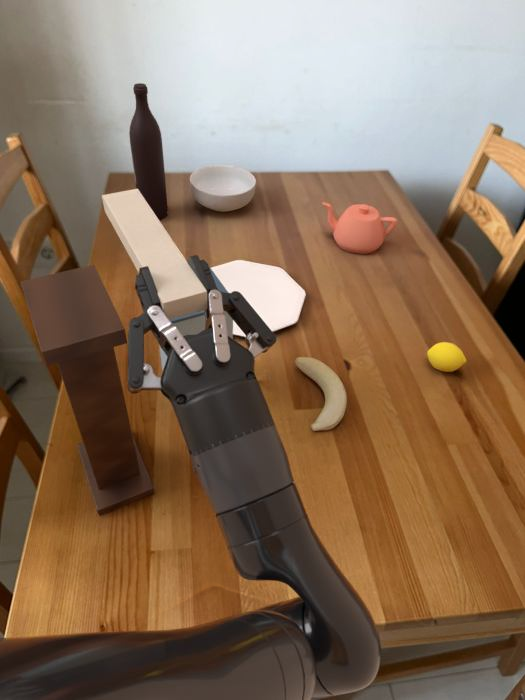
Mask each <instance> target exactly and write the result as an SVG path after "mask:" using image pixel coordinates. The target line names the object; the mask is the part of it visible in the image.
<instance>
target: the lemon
mask: <svg viewBox="0 0 525 700" xmlns="http://www.w3.org/2000/svg"><path fill="white" fill-rule="evenodd" d="M426 356H427V359H428V361H429V364H430V365H431V366H432V367H433V368H434V369H436V370H438V371H440V372H444V373H453V372H454V371H457V370H458V369H459V368H461V367H462V366H464V365H465V364H466V363H467V358H466V355H464V353H463V350H462V349H461V348H460V347H458V346H457V345H456V344H455V343H453V342H447V341H441V342H438V343H434V345H433V346H431V347H430V348H429V349H428V350H427V352H426Z"/></svg>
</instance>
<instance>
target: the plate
mask: <svg viewBox="0 0 525 700" xmlns="http://www.w3.org/2000/svg"><path fill="white" fill-rule="evenodd" d="M210 268H211V269H212V271H213V272H214V273H215V275H216V276H217V278H218V279H219V280H220V282H221V283H222V284H223V286H224V287H225V289H226V290H227V291H228V293H232V292H233V291H238V292H240V293H241V294H242V295H243V297H244V298H245V299H246V300H247V301H248V303H249V304H250V305H251V306H252V308H253V309H254V310H255V311H256V312H257V314H258V315H259V316H260V317H261V319H262V320H263V321H264V322H265V323H266V325H267V326H268V327H269V328H270V329H271V331H272V332H273V333H275V332H278V331H280V330H283V329H286V328H289V327H291V326H294V325H296V324H297V323H298V321H299V319H300V316H301V312H302V309H303V306H304V304H305V299H306V296H307V293H306V291H305V289H303V287H302V286H301V285H300V284H299V283H298V282H296V280H294V279H293V278H292V277H291V276H290V275H289V274H288V272H286V271H285V270H284V269H283V268H281V267H279V266H274V265H270V264H263V263H260V262H259V263H258V262H253V261H248V260H244V259H236V260H233V261H229V262H225V263H222V264H219V265H215V266H212V267H210ZM233 336H236V337H241V338H244V339H245V338H246V335H245V334H244V333H243V331H242V330H241V329H240V328H239V327H238V325H237V324H236V323H235V322H234V320H233Z"/></svg>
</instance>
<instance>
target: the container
mask: <svg viewBox="0 0 525 700" xmlns="http://www.w3.org/2000/svg"><path fill="white" fill-rule="evenodd" d="M211 268H212V267H210V266H209V269H210V271H211V274H212V276H213V279H214V281H215V284H216V287H217V288H218V290H219V291H221V292H224V293H228V291H227V290H226V289H225V287H224V286H223V284H222V283H221V282H220V280H219V279H218V278H217V276H216V275H215V273H214V272H213V271H212V269H211ZM224 314H225V317H226V326H227V335H228V336H229V337H231V338H232V339H233V340H234V335H233V319H232V318H231V317H230V316H229V314H228V313H227V312H226V311H224ZM169 321H170V322H171V323H172V324H173V325H175V326H176V328H177V329H178V330H179V332H180V333H181V335H182V336H185V335H196V334H198V333H200V332H202V331H203V330H205V312H204V310H202V311H198V312H195V313H191V314H187V315H184V316H180V317H177V318H173V319H170V320H169ZM175 340H176V339H175ZM158 347H159V355H160V361H161V362H160V364H161V369H162V370H161V372H162V373H163V370H164V367H165V364H166V361H167V355H166V354H165V352H164V351H163V350H162V348H161V347H160V345H159V344H158Z"/></svg>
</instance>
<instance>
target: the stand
mask: <svg viewBox="0 0 525 700" xmlns="http://www.w3.org/2000/svg"><path fill="white" fill-rule="evenodd" d="M20 285H21V288H22V292H23V294H24V298H25V302H26V305H27V308H28V311H29V314H30V318H31V321H32V325H33V328H34V331H35V334H36V338H37V342H38V345H39V348H40V351H41V354H42V358H43V360H44V363H45V366H46V367H49V366H53V365H57V367H58V369H59V372H60V376H61V379H62V382H63V385H64V388H65V392H66V394H67V398H68V400H69V403H70V407H71V409H72V412H73V415H74V418H75V421H76V424H77V428H78V430H79V433H80V437H81V439H82V442H79V443H76V446H77V449H78V453H79V456H80V460H81V462H82V466H83V469H84V472H85V476H86V478H87V482H88V485H89V489H90V492H91V494H92V498H93V501H94V504H95V508H96V510H97V513H98V516H99V517H100V516H102V515H105V514H108V513H110V512H112V511H114V510H117V509H119V508H122V507H125V506H127V505H130V504H132V503H135V502H136V501H140V500H142V499H144V498H147V497H149V496H152V495H154V494H155V493H156V492H155V487H154V484H153V482H152V480H151V477H150V474H149V472H148V470H147V467H146V464H145V463H144V459H143V458H142V455H141V453H140V450H139V448H138V445H137V443H136V440H135V438H134V436H133V435H134V434H133V431H132V427H131V422H130V418H129V413H128V408H127V403H126V398H125V393H124V389H123V385H122V379H121V375H120V370H119V365H118V361H117V356H116V351H115V347H118V346H119V347H120V346H122V345H126V344H128V337H127V333H126V328H125V326H124V324H123V322H122V320H121V318H120V315H119V313H118V312H117V310H116V308H115V306H114V303H113V301H112V299H111V297H110V294H109V292H108V291H107V288H106V287H105V285H104V282H103V280H102V278H101V276H100V274H99V272H98V270H97V268H96V266H95V264H91V265H87V266H83V267H82V266H81V267H78V268H73V269H69V270H66V271H60V272H55V273H51V274H47V275H43V276H37V277H34V278H29V279H24V280H20Z"/></svg>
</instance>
